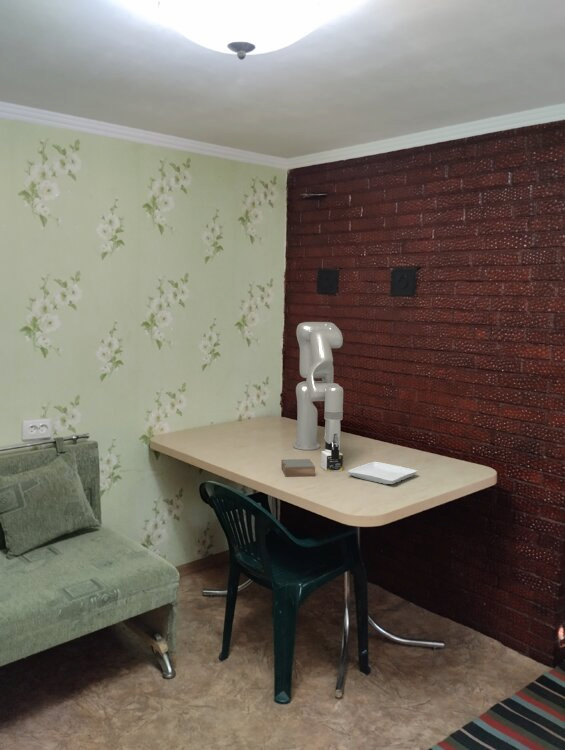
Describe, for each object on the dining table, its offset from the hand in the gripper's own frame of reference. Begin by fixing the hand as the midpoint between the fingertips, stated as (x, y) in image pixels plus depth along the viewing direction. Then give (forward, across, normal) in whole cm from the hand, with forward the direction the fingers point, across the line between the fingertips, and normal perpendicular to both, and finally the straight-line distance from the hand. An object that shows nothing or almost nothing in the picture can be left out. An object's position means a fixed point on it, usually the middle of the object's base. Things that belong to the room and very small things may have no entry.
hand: (332, 456), depth 266 cm
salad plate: (+6, +12, +18) cm, 23 cm away
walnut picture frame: (+6, +3, -15) cm, 16 cm away
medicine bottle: (+6, -1, 0) cm, 6 cm away
